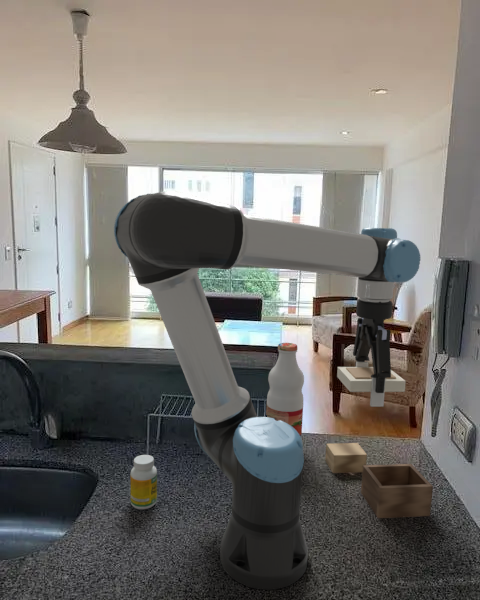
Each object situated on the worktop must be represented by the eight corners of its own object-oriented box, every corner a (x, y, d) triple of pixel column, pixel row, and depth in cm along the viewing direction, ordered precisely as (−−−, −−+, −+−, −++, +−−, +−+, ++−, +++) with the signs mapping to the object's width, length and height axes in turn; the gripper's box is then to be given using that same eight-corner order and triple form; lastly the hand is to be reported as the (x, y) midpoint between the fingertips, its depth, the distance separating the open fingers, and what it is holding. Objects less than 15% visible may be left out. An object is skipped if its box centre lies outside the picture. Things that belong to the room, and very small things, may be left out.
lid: (349, 391, 99) (350, 379, 98) (337, 376, 108) (337, 365, 108) (404, 391, 99) (405, 379, 99) (387, 376, 109) (387, 365, 109)
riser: (332, 475, 109) (334, 455, 108) (325, 462, 115) (326, 443, 114) (365, 474, 110) (366, 454, 109) (356, 461, 116) (357, 442, 115)
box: (377, 520, 92) (380, 488, 91) (360, 495, 101) (362, 465, 100) (429, 518, 94) (433, 486, 93) (408, 493, 102) (411, 463, 101)
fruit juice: (265, 439, 127) (270, 339, 122) (300, 442, 126) (306, 341, 122) (263, 455, 117) (268, 348, 113) (301, 458, 116) (307, 350, 112)
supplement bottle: (133, 495, 98) (133, 452, 97) (158, 495, 99) (158, 452, 97) (128, 510, 93) (127, 465, 92) (154, 510, 93) (155, 465, 92)
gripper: (414, 308, 90) (405, 417, 94) (373, 292, 112) (367, 380, 116) (376, 308, 90) (369, 417, 93) (343, 291, 112) (337, 380, 115)
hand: (368, 396), depth 104 cm, fingers closed on lid, 10 cm apart
